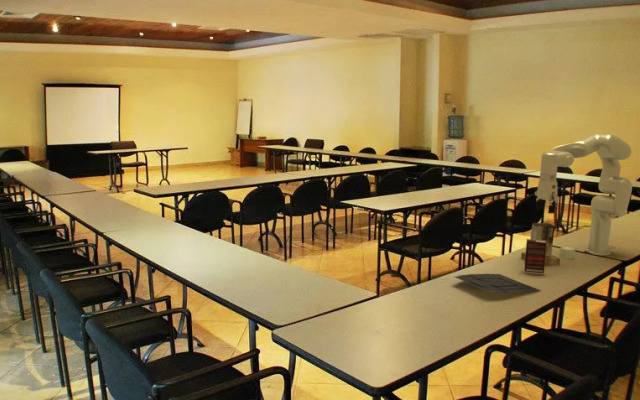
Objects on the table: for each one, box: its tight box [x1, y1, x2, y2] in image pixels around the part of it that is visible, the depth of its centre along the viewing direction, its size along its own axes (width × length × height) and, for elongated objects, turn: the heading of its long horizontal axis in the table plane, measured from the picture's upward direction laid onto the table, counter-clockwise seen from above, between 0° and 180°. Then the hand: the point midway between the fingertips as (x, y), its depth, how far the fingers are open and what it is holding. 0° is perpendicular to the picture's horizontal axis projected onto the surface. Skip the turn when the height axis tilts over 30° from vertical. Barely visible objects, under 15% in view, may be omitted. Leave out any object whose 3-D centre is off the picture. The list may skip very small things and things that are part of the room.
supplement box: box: [523, 238, 546, 276], centre depth 242 cm, size 9×5×16 cm, turn 71°
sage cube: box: [559, 246, 576, 260], centre depth 268 cm, size 5×5×5 cm
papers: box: [455, 273, 542, 294], centre depth 223 cm, size 24×30×4 cm
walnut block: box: [520, 251, 561, 267], centre depth 261 cm, size 13×13×4 cm
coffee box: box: [530, 222, 556, 257], centre depth 259 cm, size 9×6×16 cm
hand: (545, 211), depth 256 cm, fingers open, 9 cm apart
